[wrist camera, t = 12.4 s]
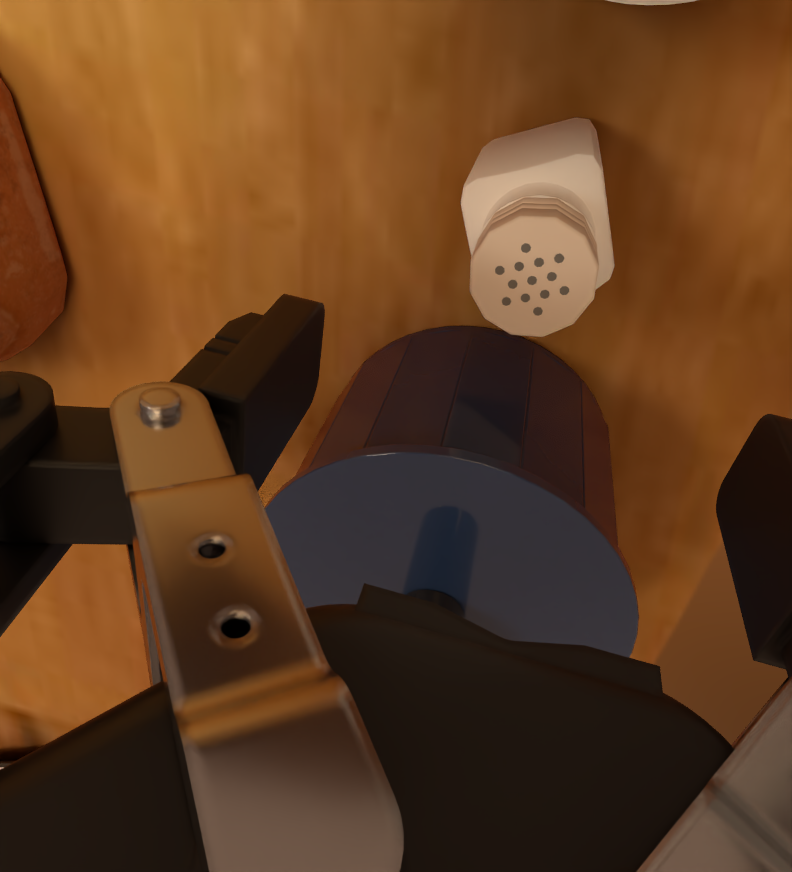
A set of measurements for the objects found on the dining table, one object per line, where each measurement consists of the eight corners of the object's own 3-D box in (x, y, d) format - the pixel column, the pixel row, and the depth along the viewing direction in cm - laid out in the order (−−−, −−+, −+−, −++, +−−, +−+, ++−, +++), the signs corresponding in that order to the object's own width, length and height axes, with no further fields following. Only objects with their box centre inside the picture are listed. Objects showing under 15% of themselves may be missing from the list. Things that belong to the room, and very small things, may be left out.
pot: (603, 310, 27) (616, 447, 19) (613, 550, 33) (625, 722, 26) (305, 340, 30) (215, 464, 23) (368, 550, 37) (315, 702, 29)
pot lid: (632, 419, 19) (651, 558, 14) (638, 717, 26) (652, 872, 22) (205, 443, 23) (115, 558, 18) (312, 696, 30) (267, 824, 26)
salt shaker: (478, 140, 24) (435, 219, 16) (594, 109, 23) (605, 179, 15) (500, 247, 26) (471, 363, 18) (608, 224, 25) (624, 338, 17)
